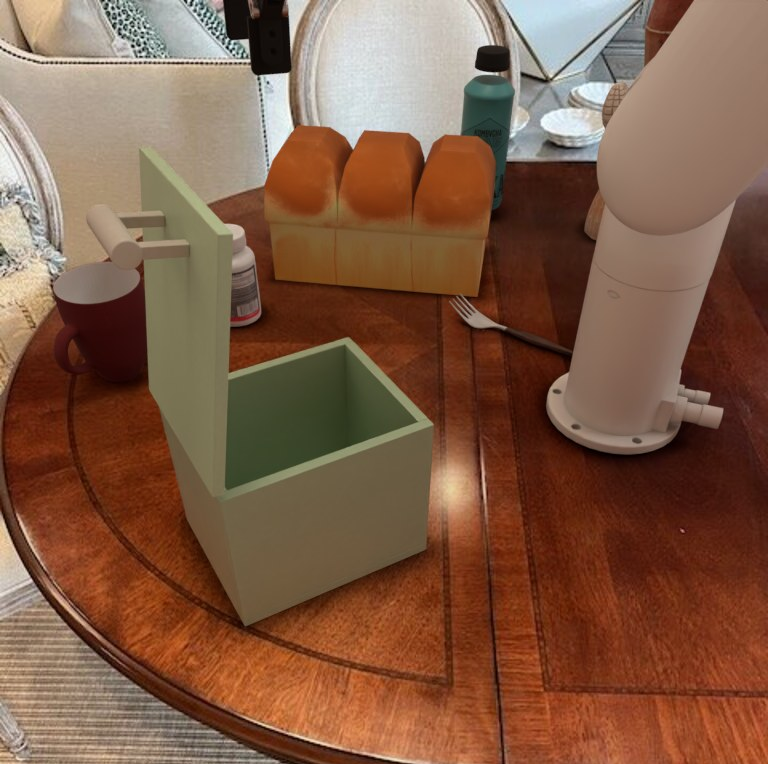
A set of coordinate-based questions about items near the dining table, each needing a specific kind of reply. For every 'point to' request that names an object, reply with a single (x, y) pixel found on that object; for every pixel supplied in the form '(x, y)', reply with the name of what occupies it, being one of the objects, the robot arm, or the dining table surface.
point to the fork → (505, 328)
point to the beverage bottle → (490, 109)
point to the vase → (660, 25)
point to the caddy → (310, 479)
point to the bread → (380, 210)
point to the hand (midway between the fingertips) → (257, 54)
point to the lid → (180, 306)
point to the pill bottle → (243, 281)
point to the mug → (102, 320)
